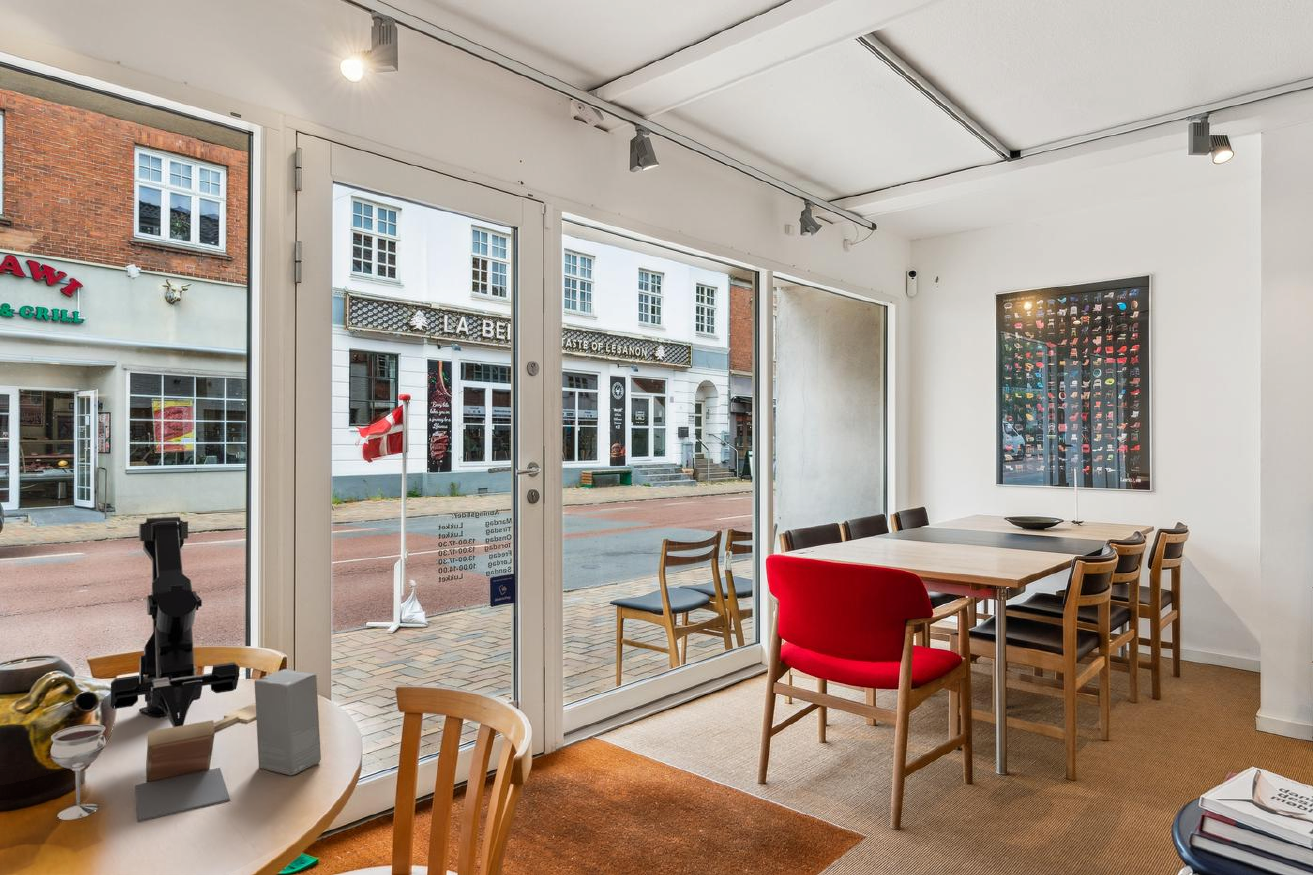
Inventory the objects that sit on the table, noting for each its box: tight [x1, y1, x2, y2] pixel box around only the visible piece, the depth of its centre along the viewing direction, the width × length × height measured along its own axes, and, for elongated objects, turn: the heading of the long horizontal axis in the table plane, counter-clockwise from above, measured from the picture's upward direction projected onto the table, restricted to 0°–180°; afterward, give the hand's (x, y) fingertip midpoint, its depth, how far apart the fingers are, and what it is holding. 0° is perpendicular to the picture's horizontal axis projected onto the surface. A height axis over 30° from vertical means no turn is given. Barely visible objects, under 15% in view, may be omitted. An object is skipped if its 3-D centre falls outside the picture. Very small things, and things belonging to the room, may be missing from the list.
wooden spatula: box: [214, 702, 256, 732], centre depth 154 cm, size 18×6×1 cm, turn 162°
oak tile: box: [145, 719, 216, 783], centre depth 129 cm, size 3×9×11 cm
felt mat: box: [135, 767, 231, 822], centre depth 125 cm, size 13×12×1 cm
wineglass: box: [50, 723, 107, 821], centre depth 119 cm, size 7×7×12 cm
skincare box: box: [253, 668, 322, 777], centre depth 135 cm, size 8×7×16 cm
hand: (178, 730), depth 131 cm, fingers closed
